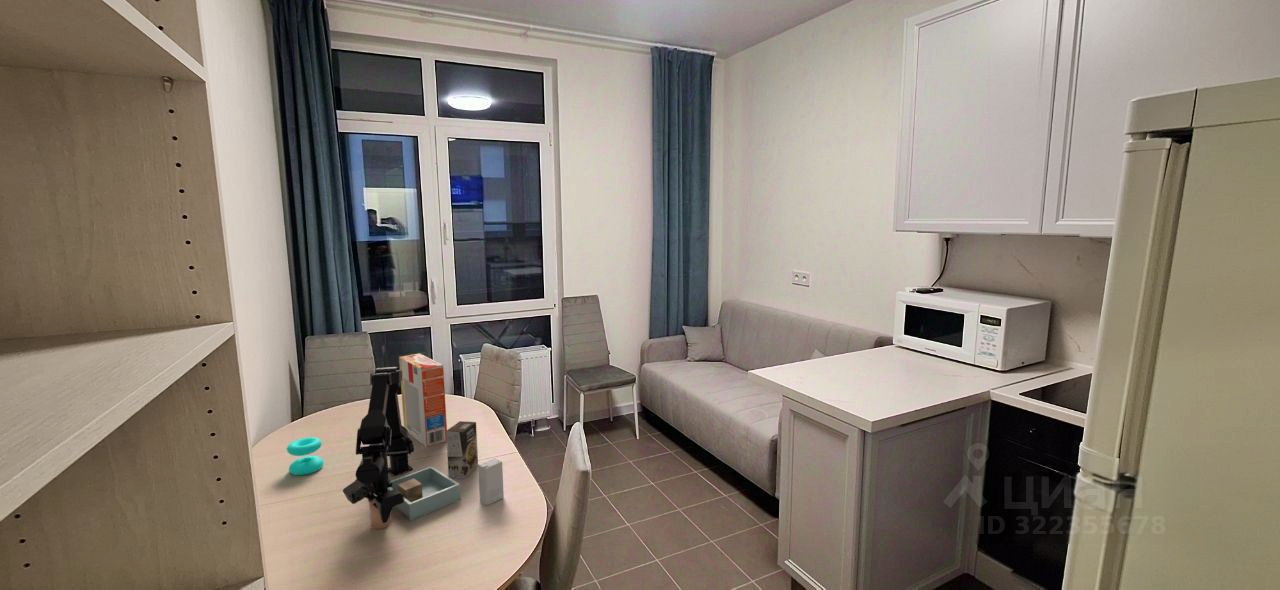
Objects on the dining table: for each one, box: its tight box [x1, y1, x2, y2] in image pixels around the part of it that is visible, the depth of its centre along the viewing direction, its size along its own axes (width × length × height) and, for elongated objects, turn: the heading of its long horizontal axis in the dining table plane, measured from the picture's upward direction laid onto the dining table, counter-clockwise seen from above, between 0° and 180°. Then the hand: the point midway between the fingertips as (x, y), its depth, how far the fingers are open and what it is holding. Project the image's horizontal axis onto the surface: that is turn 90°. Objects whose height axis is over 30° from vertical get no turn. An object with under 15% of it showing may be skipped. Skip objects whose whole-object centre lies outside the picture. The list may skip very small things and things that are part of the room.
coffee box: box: [446, 421, 479, 479], centre depth 182 cm, size 9×6×16 cm
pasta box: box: [398, 352, 448, 448], centre depth 211 cm, size 23×8×30 cm, turn 43°
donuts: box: [286, 436, 324, 476], centre depth 184 cm, size 10×10×10 cm
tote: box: [388, 466, 462, 522], centre depth 165 cm, size 18×16×5 cm
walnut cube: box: [398, 479, 423, 502], centre depth 164 cm, size 5×5×5 cm
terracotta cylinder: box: [368, 497, 392, 530], centre depth 152 cm, size 5×5×7 cm
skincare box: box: [477, 457, 505, 506], centre depth 164 cm, size 6×4×12 cm
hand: (380, 518), depth 152 cm, fingers closed on terracotta cylinder, 5 cm apart
